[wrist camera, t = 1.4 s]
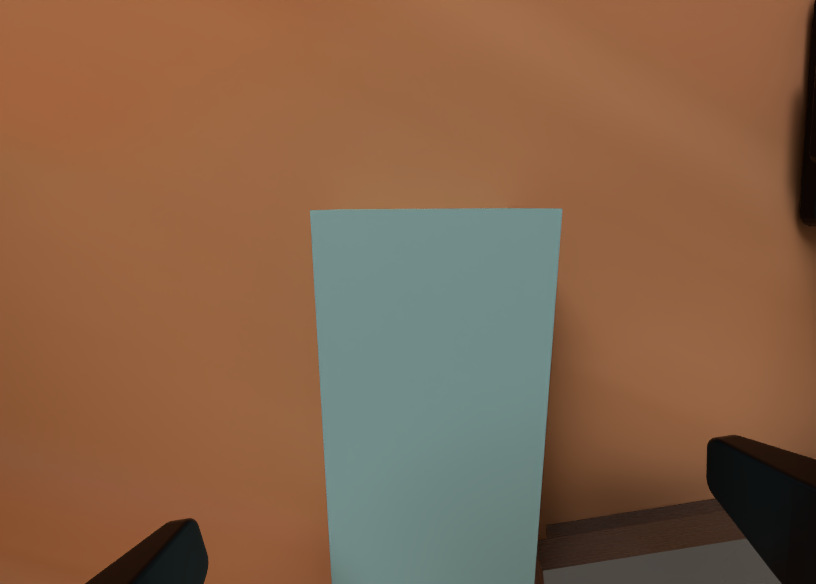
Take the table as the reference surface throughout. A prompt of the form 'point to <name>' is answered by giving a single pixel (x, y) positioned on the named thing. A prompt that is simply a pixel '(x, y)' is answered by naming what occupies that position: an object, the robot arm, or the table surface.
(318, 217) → the housing
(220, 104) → the table surface
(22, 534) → the table surface
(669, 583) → the stand
